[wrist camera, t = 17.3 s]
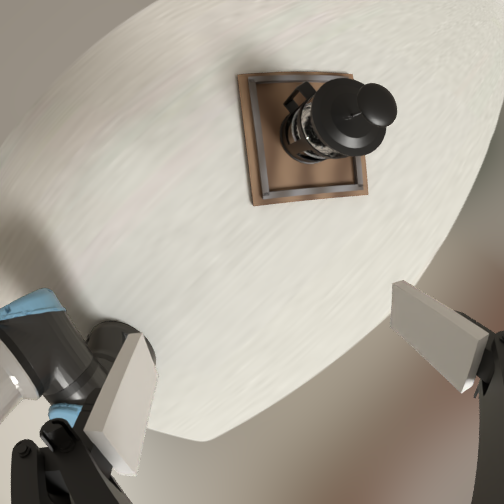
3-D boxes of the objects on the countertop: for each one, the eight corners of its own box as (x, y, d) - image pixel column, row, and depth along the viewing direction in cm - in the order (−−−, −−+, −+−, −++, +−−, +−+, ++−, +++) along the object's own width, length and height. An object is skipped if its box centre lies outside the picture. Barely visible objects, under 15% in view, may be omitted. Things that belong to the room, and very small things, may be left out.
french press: (347, 146, 43) (438, 130, 21) (306, 178, 44) (379, 183, 22) (304, 90, 40) (367, 29, 18) (260, 121, 41) (294, 69, 19)
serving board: (253, 205, 46) (254, 207, 43) (237, 77, 40) (238, 72, 38) (365, 194, 47) (371, 195, 44) (349, 76, 41) (355, 72, 39)
